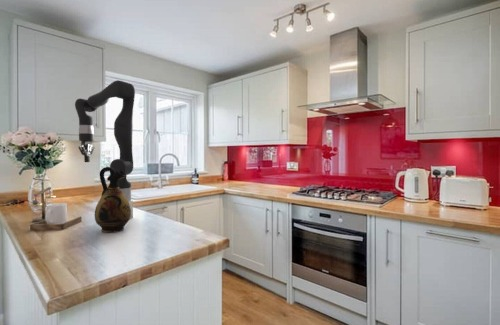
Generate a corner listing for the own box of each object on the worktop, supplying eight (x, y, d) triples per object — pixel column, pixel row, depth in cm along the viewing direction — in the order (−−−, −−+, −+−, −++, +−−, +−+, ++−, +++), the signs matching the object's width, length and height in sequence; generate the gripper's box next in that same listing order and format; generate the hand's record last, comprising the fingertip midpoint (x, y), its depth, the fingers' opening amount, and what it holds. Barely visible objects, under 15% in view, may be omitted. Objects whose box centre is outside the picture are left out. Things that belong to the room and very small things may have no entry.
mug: (55, 228, 126) (54, 207, 126) (37, 229, 126) (36, 207, 125) (70, 222, 138) (70, 202, 138) (54, 222, 138) (54, 203, 137)
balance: (59, 216, 151) (58, 186, 151) (38, 223, 135) (37, 190, 134) (48, 216, 151) (47, 186, 150) (26, 223, 135) (25, 190, 134)
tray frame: (81, 221, 140) (81, 216, 140) (63, 229, 125) (62, 224, 125) (52, 221, 139) (52, 217, 139) (30, 230, 124) (30, 224, 124)
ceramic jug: (137, 225, 132) (136, 166, 131) (121, 234, 117) (119, 167, 116) (103, 225, 132) (102, 166, 131) (83, 234, 117) (82, 167, 116)
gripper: (86, 132, 150) (87, 162, 150) (98, 134, 163) (99, 161, 163) (72, 132, 149) (73, 162, 150) (86, 133, 162) (86, 161, 163)
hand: (87, 162), depth 157 cm, fingers closed
